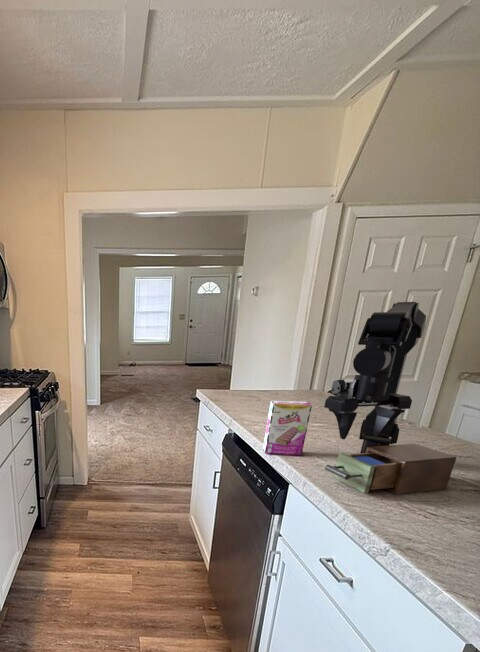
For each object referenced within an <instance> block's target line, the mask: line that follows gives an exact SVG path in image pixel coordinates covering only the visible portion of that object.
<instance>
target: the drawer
mask: <svg viewBox="0 0 480 652" xmlns="http://www.w3.org/2000/svg"><path fill="white" fill-rule="evenodd" d="M361 456H368V457H371V458H373V459H376V460H378V461H381V462H383V463H386V464H378V465H375V466H373V465H370V464H368V463H366V462H363V461H361V460H358V459H356V458H354V457H361ZM401 465H402V463H400V462H397V461H394V460H392V459H389V458H386V457H384V456H381V455H379V454H376V453H373V452H371V453H360V452H358V453H350V454H349V453H348V454H346V453H344V452H339V453H338V454H337V460H336V464H335V465H331V464H326V465H325V466H324V470H325V471H327V472H329V473H331V474H332V475H333V478H334V479H336V480H337V481H339V482H342V483H344V484H345V485H348V486H349V487H352V488H353V489H355V490H357V491H359V492H362V493H363V494H368V493H370V492H369V491H374V490H383V489H384V488H394V487H395V485H396V482H397V478H398V475H399V472H400V468H401ZM384 490H385V489H384Z"/></svg>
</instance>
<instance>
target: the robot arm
mask: <svg viewBox="0 0 480 652" xmlns="http://www.w3.org/2000/svg"><path fill="white" fill-rule="evenodd" d="M419 306H420V302H417V301H397V302H394V303H393V304H392V306H391V308H390V309H388V310H387V311H380V312H379V311H376V312H373V313H372V314H371V316H370V317H367V319H366V322H365V324H364V327H363V329H362V331H361V334H360V337H359V339H358V342H357V345H358V346H365V347H364V348H363V349H361V350H359V352H357V353H356V355H355V356H354V358H353V361H352V366H353V369H354V371H355V372H356V373H357V374H355V375H354V377H353V380H352V381H349V382H346V381H345V379H336V380H333V381H332V385H331V395H329V396H328V397H326V399H325V401H324V402H325V403H324V405H323V408H325V409H328V412H331V413H332V414H334V416H335V418H336V421H337V427H338V432H339V438H340V439H341V440H346V438H347V437H348V435H349V433H350V431H351V429H352V426H353V423H354V422H355V419H356V418H357V415H358V412H355V411H356V410H357V409H358V408H359V407H374V408H373V409H371V411H370V412H369V413H368V414H367V415H366V416H365V419H363V420H362V423H361V425H360V430H359V437H358V440H363V441H362V444H361V449H360V452H359V453H366V449H367V447H375V446H388V445H397V443H398V440H399V437H400V436H399V435H400V429H401V428H399V423H397V421H398V417H399V416H400V415H401V414H402V413H405V412H406V410H410V409H411V406H412V404H413V399H412V398H411V396H410V395H406V394H400V393H398V392H399V387H400V383H401V380H402V375H403V373H404V368H405V366H406V365H405V364H406V361H407V356H408V354H409V353H410V352H411V351H412V350H413V349H414V348H415V347H416V345H417V344H418V342H419V340H420V339H422V338H423V335H424V332H425V328H426V321H427V315H426V313H424V312H423V311H422V310H421V309H420V307H419Z"/></svg>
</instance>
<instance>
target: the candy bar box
mask: <svg viewBox="0 0 480 652" xmlns="http://www.w3.org/2000/svg"><path fill="white" fill-rule="evenodd" d="M312 406H313V405H312V404H311V402H308V401H300V400H299V401H298V400H297V401H295V400H270V403H269V410H268V414H267V421H266V427H265V433H264V438H263V443H262V444H263V445H262V450H263V452H264V454H267V455H283V456H284V455H285V456H286V455H287V456H302V455H303V451H304V450H303V449H304V446H305V441H306V437H307V431H308V426H309V421H310V416H311V412H312Z"/></svg>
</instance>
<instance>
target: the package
mask: <svg viewBox="0 0 480 652" xmlns="http://www.w3.org/2000/svg"><path fill="white" fill-rule="evenodd" d="M354 458H356V459H358V460H361V461H363V462H366V463H368V464H370V465H373V466H375V465H378V464H386V463H383V462H381V461H378V460H376V459H373V458H371V457H368V456H361V457H354Z"/></svg>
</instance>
